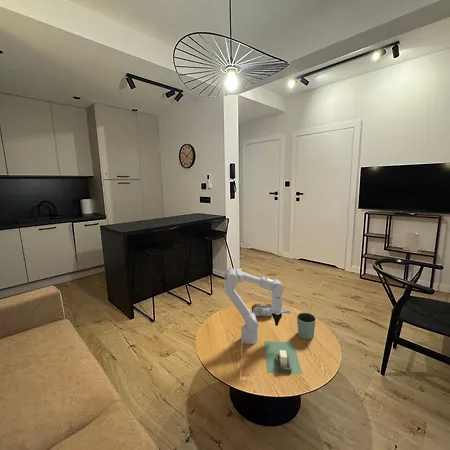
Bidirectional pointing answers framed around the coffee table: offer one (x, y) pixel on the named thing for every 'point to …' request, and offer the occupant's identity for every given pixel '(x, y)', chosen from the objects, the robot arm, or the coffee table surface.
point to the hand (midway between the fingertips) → (276, 324)
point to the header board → (273, 357)
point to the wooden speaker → (260, 309)
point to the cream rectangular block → (283, 358)
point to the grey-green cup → (306, 325)
